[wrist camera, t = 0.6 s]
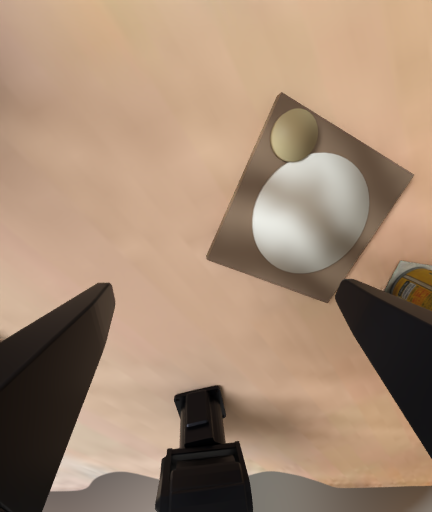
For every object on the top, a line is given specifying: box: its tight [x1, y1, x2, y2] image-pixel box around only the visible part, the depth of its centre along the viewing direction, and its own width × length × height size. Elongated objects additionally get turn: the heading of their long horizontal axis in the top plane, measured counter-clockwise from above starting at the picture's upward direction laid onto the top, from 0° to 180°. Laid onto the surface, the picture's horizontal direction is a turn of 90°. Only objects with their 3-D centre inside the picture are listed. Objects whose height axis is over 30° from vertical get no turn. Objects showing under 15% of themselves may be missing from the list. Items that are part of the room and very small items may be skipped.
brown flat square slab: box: [206, 92, 414, 303], centre depth 22 cm, size 16×16×2 cm
